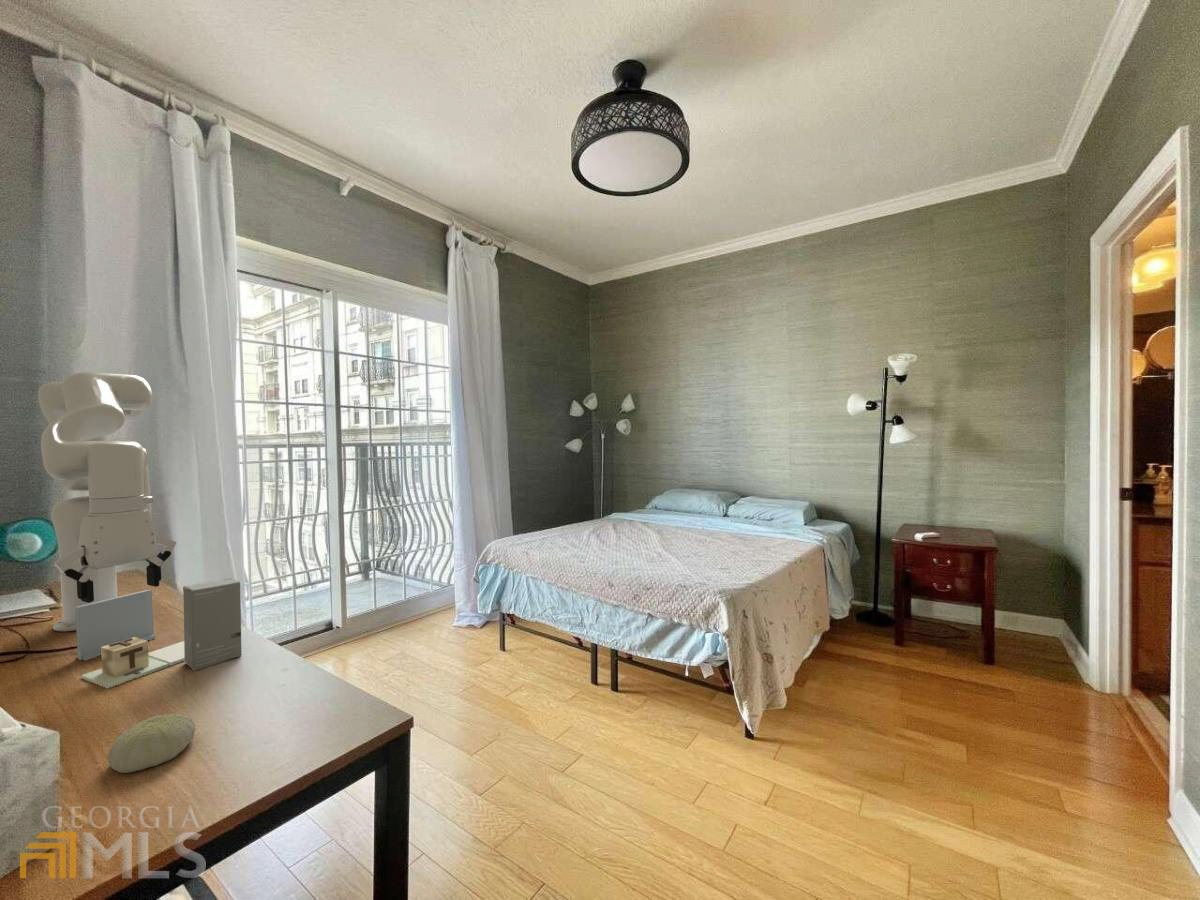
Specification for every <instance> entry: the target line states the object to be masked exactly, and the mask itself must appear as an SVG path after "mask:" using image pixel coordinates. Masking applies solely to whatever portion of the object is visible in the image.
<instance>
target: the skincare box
mask: <svg viewBox="0 0 1200 900" xmlns="http://www.w3.org/2000/svg"><path fill="white" fill-rule="evenodd" d="M182 589H183V590H182V593H183V627H184V628H183V639H184V640H183V641H184V658H185V661H184V662H185V664H186V665H188V666H189V667H190V668H191V669H192V670H193V671H198V670H200V669H204V668H207V667H210V666H214V665H217V664H220V663H224V662H226V661H229V660H232V659H235V657H236V658H239V657H241V656H242V653H243V652H242V615H241V614H242V613H241V611H242V607H241V605H242V604H241V603H242V601H241V582H240V581H238V580H236V579H233V578H231V577H230V578H225V579H217V580H209V581H205V582H201V583H193V584H190V585H189V584H188V585H183V587H182Z"/></svg>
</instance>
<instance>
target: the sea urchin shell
mask: <svg viewBox="0 0 1200 900" xmlns="http://www.w3.org/2000/svg"><path fill="white" fill-rule="evenodd" d="M195 731H196V725H195V722H194V721H193V719H191V717H189V716H187V715H183V714H179V713H171V714H169V713H165V714H159V715H158V714H157V715H155V716H152V717H149V718H146V719H145V720H142V721H141V722H138V723H137V724H134V725H133V726H131V727H129V728H128V729H126V730H124V732H122V733H121V734H119V736H117V737H116V739H114V741H113V743H112V745H111V746H110V748H109V750H108V753H107V760H108V763H109V766H110V767H111V768H110V769H112V770H114V771H117V772H119V773H122V774H123V773H125V774H126V773H127V774H131V773H134V772H138V771H144V770H146V769H147V768H152V767H156V766H159V765H160V764H163V763H166V762H170V760H172V759H174V758H175V757H177V756H178V755H179V754H180V753H181V752H183V751H184V750H185V749H186V747H188V745H189V744H190V743H191V742H192V740H193V739H194V737H195V736H194V735H195V733H196V732H195Z"/></svg>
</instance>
